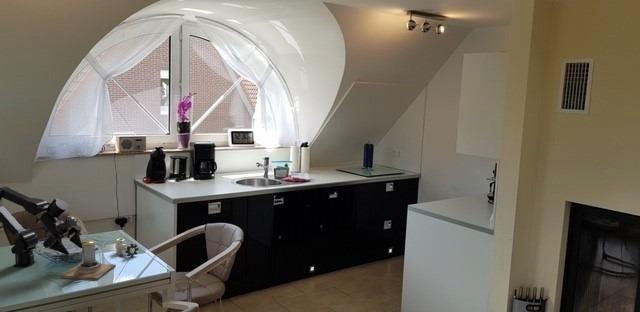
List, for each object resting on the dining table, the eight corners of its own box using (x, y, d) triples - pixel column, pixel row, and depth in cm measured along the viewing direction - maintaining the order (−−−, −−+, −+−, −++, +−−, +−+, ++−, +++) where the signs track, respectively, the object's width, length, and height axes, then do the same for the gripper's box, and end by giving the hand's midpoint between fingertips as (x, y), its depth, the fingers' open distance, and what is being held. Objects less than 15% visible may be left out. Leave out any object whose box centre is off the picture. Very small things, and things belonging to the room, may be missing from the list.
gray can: (82, 272, 216) (81, 244, 215) (82, 268, 221) (81, 240, 220) (95, 271, 219) (95, 243, 217) (95, 267, 223) (94, 239, 222)
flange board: (61, 277, 213) (60, 269, 212) (81, 264, 228) (81, 257, 228) (97, 280, 212) (97, 272, 211) (115, 266, 227) (115, 259, 227)
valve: (111, 253, 245) (126, 259, 238) (111, 240, 244) (126, 245, 237) (124, 250, 250) (138, 255, 244) (123, 237, 250) (138, 242, 243)
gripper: (48, 217, 210) (72, 246, 209) (77, 207, 228) (100, 233, 227) (32, 234, 212) (56, 262, 212) (62, 223, 230) (84, 248, 230)
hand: (75, 251), depth 220 cm, fingers open, 9 cm apart
